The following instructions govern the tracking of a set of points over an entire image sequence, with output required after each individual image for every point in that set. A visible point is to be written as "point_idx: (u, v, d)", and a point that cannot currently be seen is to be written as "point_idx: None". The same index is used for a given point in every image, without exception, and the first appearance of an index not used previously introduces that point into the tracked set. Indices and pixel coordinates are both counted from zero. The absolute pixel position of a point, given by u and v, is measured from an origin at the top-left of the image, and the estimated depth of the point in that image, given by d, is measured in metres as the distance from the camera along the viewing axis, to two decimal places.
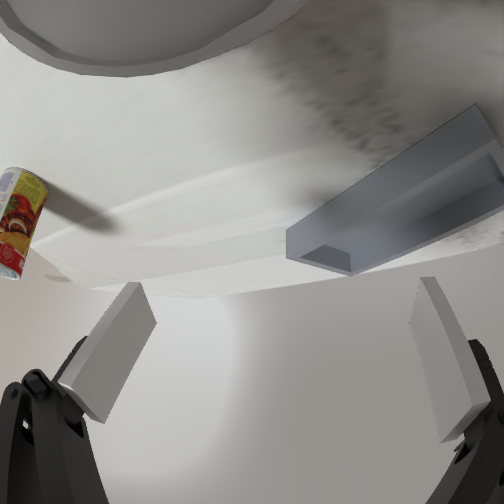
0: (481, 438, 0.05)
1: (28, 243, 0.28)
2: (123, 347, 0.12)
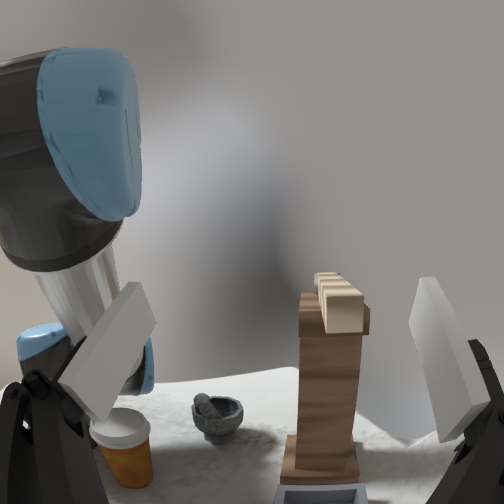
0: (481, 438, 0.05)
1: None
2: (123, 347, 0.12)
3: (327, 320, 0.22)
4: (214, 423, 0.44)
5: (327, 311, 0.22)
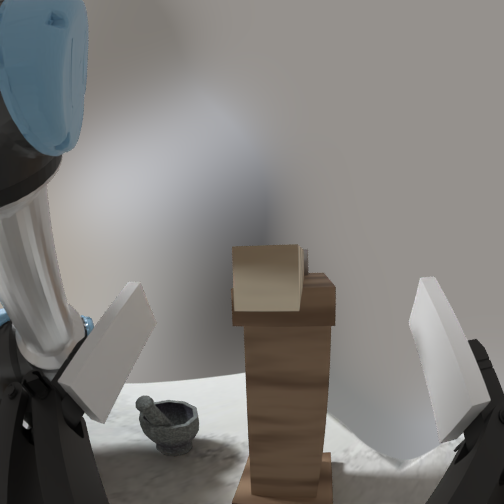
0: (481, 438, 0.05)
1: None
2: (123, 347, 0.12)
3: (235, 288, 0.14)
4: (161, 432, 0.35)
5: (234, 272, 0.14)
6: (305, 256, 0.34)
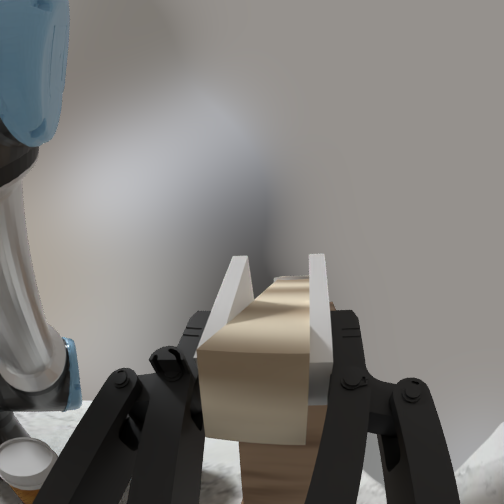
0: None
1: None
2: None
3: (204, 409, 0.08)
4: None
5: (203, 387, 0.08)
6: None
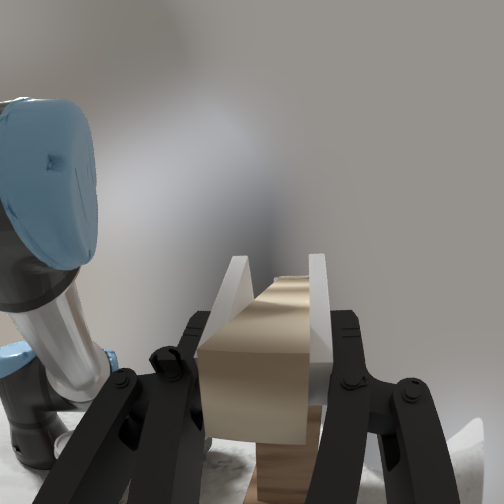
0: None
1: None
2: None
3: (204, 409, 0.08)
4: None
5: (203, 387, 0.08)
6: None
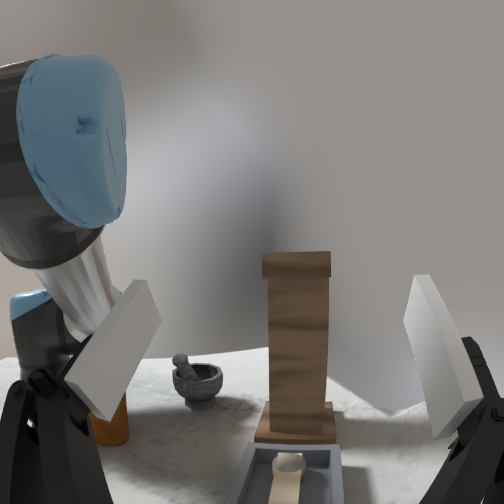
0: (474, 435, 0.05)
1: None
2: (129, 345, 0.12)
3: None
4: (192, 385, 0.47)
5: None
6: (302, 471, 0.27)
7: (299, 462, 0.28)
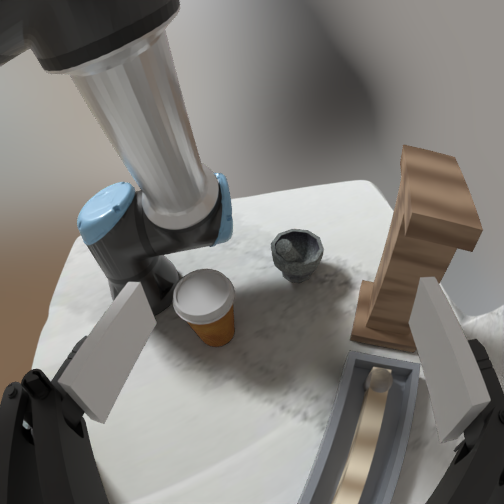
0: (481, 438, 0.05)
1: None
2: (123, 347, 0.12)
3: None
4: (295, 267, 0.51)
5: None
6: (388, 389, 0.36)
7: (388, 381, 0.36)
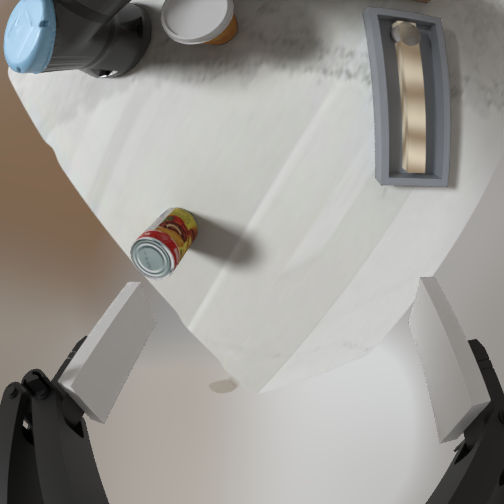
0: (481, 438, 0.05)
1: (182, 245, 0.47)
2: (123, 347, 0.12)
3: (404, 169, 0.40)
4: None
5: (406, 170, 0.40)
6: None
7: (416, 34, 0.28)
